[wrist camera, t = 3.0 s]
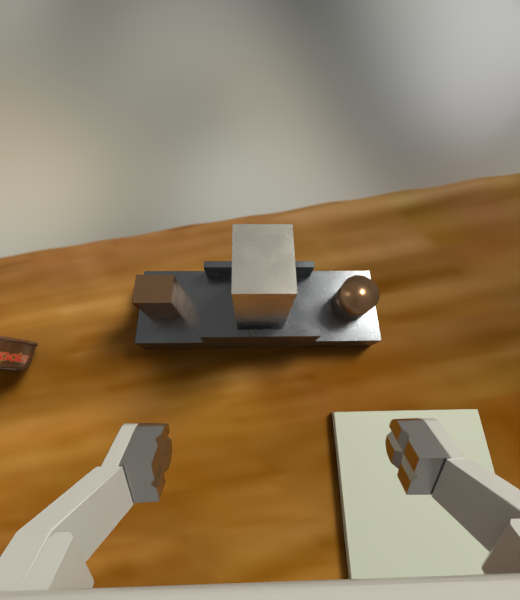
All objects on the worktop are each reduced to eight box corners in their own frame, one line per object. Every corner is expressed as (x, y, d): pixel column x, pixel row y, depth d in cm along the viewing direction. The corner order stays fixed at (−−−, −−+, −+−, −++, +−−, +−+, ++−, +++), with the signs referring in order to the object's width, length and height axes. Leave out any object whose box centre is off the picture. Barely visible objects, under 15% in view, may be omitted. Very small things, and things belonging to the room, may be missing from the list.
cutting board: (350, 599, 21) (354, 606, 20) (331, 412, 26) (334, 412, 25) (518, 591, 22) (528, 598, 21) (470, 409, 26) (477, 409, 25)
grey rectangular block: (237, 331, 25) (231, 294, 17) (238, 280, 27) (232, 224, 19) (281, 330, 26) (297, 293, 17) (279, 280, 27) (292, 224, 19)
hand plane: (144, 348, 27) (114, 332, 21) (152, 282, 30) (127, 249, 23) (370, 345, 28) (403, 329, 22) (360, 281, 30) (387, 250, 24)
